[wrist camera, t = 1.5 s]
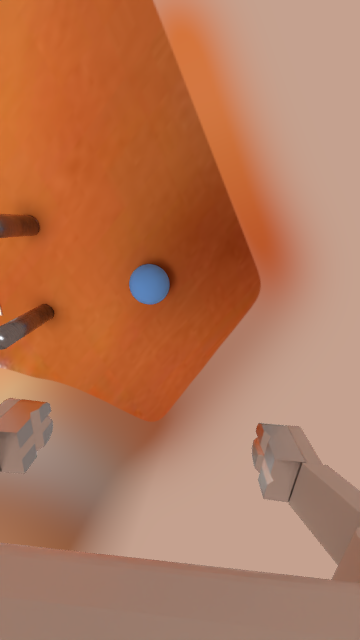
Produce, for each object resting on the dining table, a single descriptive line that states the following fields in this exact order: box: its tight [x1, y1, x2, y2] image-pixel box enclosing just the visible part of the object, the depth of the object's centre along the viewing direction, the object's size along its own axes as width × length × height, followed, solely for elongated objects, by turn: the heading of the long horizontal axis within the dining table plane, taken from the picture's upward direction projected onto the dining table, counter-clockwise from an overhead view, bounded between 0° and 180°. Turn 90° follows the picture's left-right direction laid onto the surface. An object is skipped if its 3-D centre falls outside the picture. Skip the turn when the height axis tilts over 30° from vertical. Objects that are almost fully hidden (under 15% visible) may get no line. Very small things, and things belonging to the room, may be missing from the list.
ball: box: [129, 264, 170, 304], centre depth 29 cm, size 5×5×5 cm
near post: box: [0, 214, 39, 238], centre depth 26 cm, size 2×2×9 cm
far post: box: [0, 304, 54, 349], centre depth 30 cm, size 2×2×9 cm
